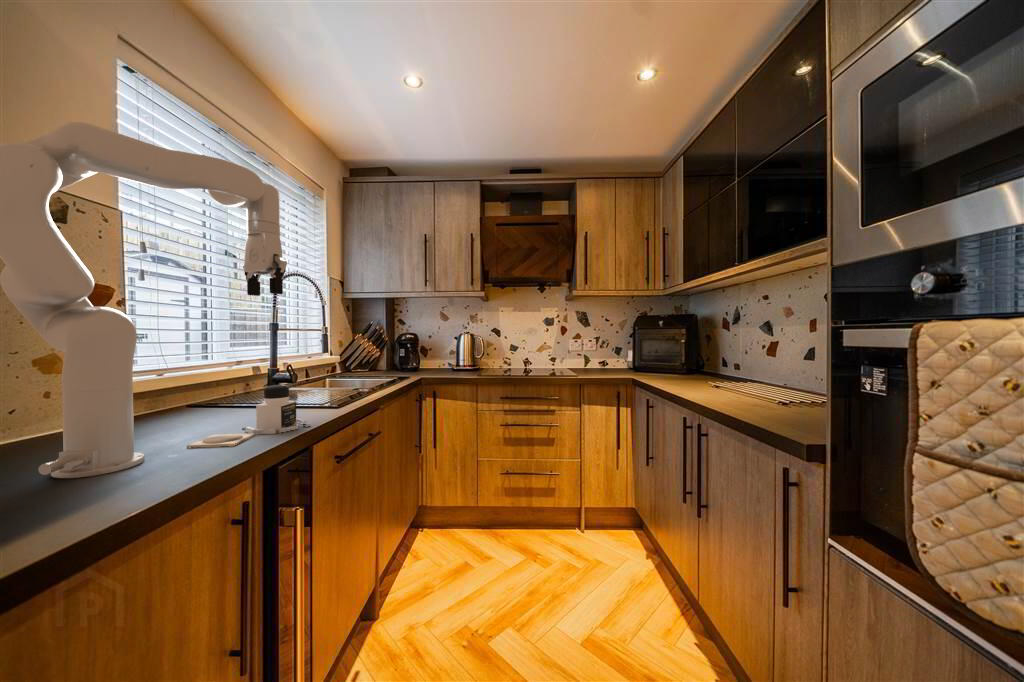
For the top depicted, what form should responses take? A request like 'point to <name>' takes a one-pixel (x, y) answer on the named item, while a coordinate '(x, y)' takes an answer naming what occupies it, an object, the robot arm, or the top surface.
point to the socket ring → (274, 430)
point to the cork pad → (222, 440)
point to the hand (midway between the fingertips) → (264, 294)
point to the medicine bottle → (276, 408)
